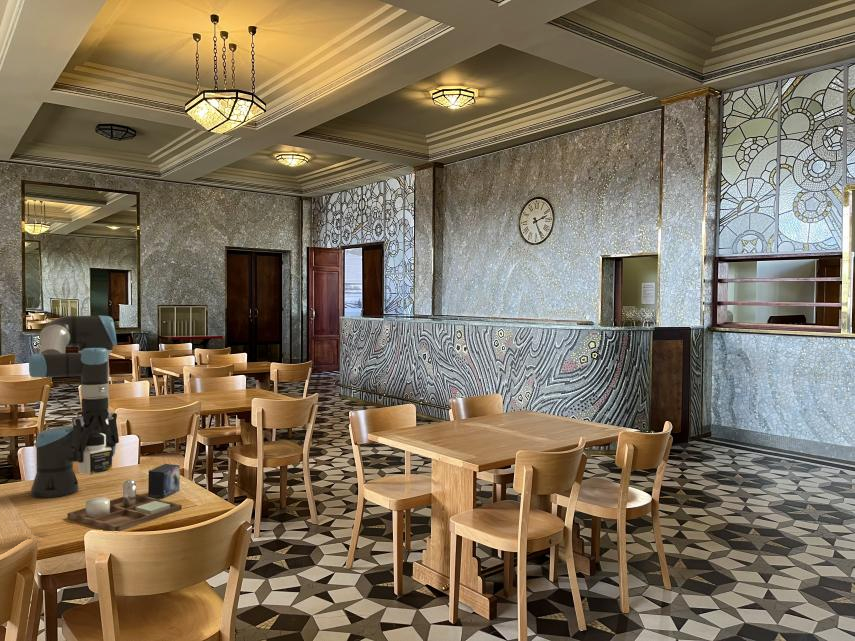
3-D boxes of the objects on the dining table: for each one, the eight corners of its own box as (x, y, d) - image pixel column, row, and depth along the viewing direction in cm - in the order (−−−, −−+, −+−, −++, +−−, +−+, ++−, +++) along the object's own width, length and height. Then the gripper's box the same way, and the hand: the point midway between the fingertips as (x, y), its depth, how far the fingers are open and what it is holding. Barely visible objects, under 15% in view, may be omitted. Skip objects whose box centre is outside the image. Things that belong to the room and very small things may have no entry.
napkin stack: (135, 513, 217) (135, 507, 217) (155, 506, 224) (155, 500, 224) (151, 517, 214) (151, 510, 214) (170, 510, 220) (170, 504, 220)
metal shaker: (120, 506, 224) (120, 480, 223) (131, 503, 227) (130, 477, 227) (128, 508, 222) (128, 482, 221) (138, 505, 225) (138, 479, 225)
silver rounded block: (81, 517, 213) (81, 501, 213) (101, 511, 219) (100, 496, 219) (94, 521, 209) (94, 505, 209) (114, 514, 216) (114, 499, 215)
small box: (163, 501, 232) (163, 471, 232) (147, 499, 234) (147, 470, 233) (180, 492, 243) (180, 464, 242) (164, 491, 244) (164, 463, 244)
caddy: (67, 520, 212) (67, 513, 212) (133, 500, 233) (133, 493, 233) (116, 534, 200) (116, 527, 200) (181, 511, 221) (181, 504, 221)
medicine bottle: (90, 475, 202) (90, 437, 202) (78, 472, 206) (77, 434, 206) (112, 470, 208) (112, 433, 208) (100, 467, 212) (99, 430, 212)
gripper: (70, 402, 196) (71, 478, 196) (131, 394, 213) (131, 464, 214) (56, 400, 200) (56, 475, 200) (117, 392, 217) (117, 461, 218)
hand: (95, 469), depth 207 cm, fingers closed on medicine bottle, 7 cm apart
